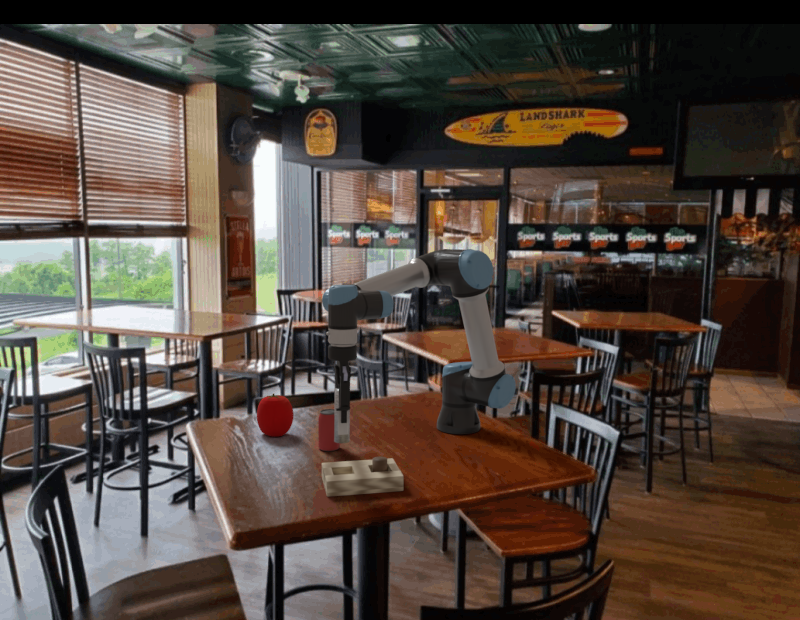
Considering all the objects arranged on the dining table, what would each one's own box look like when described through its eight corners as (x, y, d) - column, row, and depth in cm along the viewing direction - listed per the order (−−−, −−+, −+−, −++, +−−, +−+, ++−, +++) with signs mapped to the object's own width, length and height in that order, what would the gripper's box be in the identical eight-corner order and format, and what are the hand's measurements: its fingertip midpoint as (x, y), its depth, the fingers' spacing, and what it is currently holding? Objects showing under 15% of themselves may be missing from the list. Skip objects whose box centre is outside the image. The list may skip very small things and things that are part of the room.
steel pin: (348, 438, 174) (348, 387, 172) (350, 442, 170) (350, 390, 168) (333, 439, 173) (333, 387, 171) (335, 443, 169) (335, 391, 167)
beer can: (336, 452, 199) (336, 414, 197) (315, 451, 200) (315, 413, 199) (342, 446, 205) (342, 409, 204) (322, 444, 206) (322, 407, 205)
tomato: (249, 437, 213) (248, 395, 212) (268, 428, 224) (267, 387, 222) (281, 442, 209) (281, 399, 207) (300, 432, 219) (299, 391, 217)
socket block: (392, 471, 183) (392, 449, 182) (403, 490, 169) (403, 466, 169) (321, 476, 179) (321, 454, 178) (326, 496, 165) (326, 472, 164)
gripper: (324, 339, 176) (324, 423, 179) (331, 350, 159) (331, 442, 162) (352, 339, 178) (351, 422, 180) (361, 349, 161) (361, 440, 164)
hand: (342, 431), depth 171 cm, fingers closed on steel pin, 4 cm apart
